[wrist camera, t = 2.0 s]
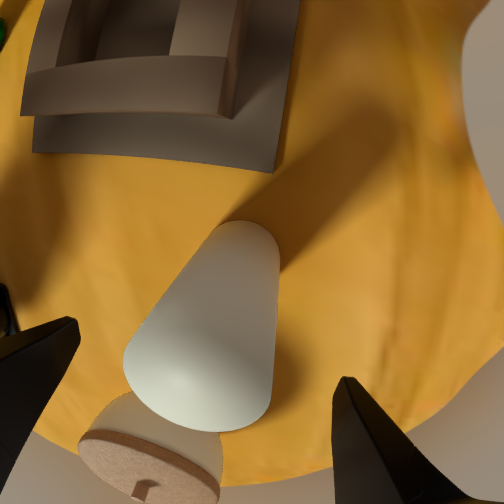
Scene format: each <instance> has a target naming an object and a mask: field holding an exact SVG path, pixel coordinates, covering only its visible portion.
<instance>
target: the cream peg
mask: <svg viewBox="0 0 504 504" xmlns="http://www.w3.org/2000/svg"><path fill="white" fill-rule="evenodd" d="M279 275H280V251H279V248H278V245H277V243H276V241H275V239H274V238H273V236H272V235H271V234H270V233H269V232H268V231H267V230H266V229H264V228H263V227H262V226H260V225H258V224H256V223H253V222H250V221H244V220H235V221H229V222H226V223H224V224H221V225H220V226H218V227H217V228H215V229H214V230H213V231H212V232H211V233H210V235H209V236H208V237H207V238H206V240H205V241H204V242H203V244H202V245H201V246H200V247H199V249H198V250H197V251H196V253H195V254H194V255H193V256H192V258H191V259H190V260H189V262H188V263H187V264H186V266H185V267H184V268H183V269H182V271H181V272H180V273H179V275H178V276H177V277H176V279H175V280H174V281H173V283H172V284H171V285H170V287H169V288H168V289H167V291H166V292H165V293H164V295H163V296H162V297H161V299H160V300H159V301H158V303H157V304H156V306H155V307H154V308H153V310H152V311H151V312H150V314H149V315H148V316H147V318H146V319H145V321H144V322H143V323H142V325H141V326H140V327H139V329H138V330H137V332H136V333H135V334H134V336H133V337H132V339H131V340H130V341H129V343H128V345H127V347H126V348H125V352H124V355H123V369H124V373H125V376H126V379H127V381H128V383H129V385H130V387H131V388H132V390H133V391H134V393H135V394H136V395H137V396H138V398H139V399H140V400H141V401H142V402H143V403H144V404H145V405H146V406H148V407H149V408H150V409H151V410H153V411H154V412H155V413H157V414H158V415H160V416H162V417H163V418H165V419H167V420H169V421H171V422H173V423H175V424H178V425H181V426H183V427H187V428H190V429H195V430H200V431H208V432H225V431H232V430H236V429H240V428H243V427H246V426H248V425H250V424H252V423H254V422H255V421H256V420H258V419H259V418H260V417H261V416H262V415H263V414H264V413H265V411H266V410H267V408H268V406H269V404H270V400H271V395H272V382H273V369H274V356H275V341H276V326H277V310H278V293H279Z"/></svg>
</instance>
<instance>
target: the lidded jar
mask: <svg viewBox="0 0 504 504" xmlns="http://www.w3.org/2000/svg"><path fill="white" fill-rule="evenodd" d="M78 452H79V454H80V456H81V458H82V460H83V461H84V462H85V463H86V465H87V466H88V467H89V468H90V469H91V470H92V471H93V472H94V473H95V474H97V475H98V476H99V477H100V478H102V479H103V480H104V481H106V482H107V483H109V484H110V485H112V486H113V487H115V488H117V489H119V490H121V491H122V492H124V493H126V494H128V495H130V496H131V499H133V500H134V501H137V502H139V503H144V502H148V503H151V504H217V503H218V500H219V497H220V484H221V479H222V472H223V446H222V442H221V439H220V435H219V433H218V432H208V431H200V430H195V429H190V428H187V427H183V426H181V425H178V424H175V423H173V422H171V421H169V420H167V419H165V418H163V417H162V416H160V415H158V414H157V413H155V412H154V411H153V410H151V409H150V408H149V407H148V406H146V405H145V404H144V403H143V402H142V401H141V400H140V399H139V398H138V396H137V395H136V394H135V393H134V391H131V392H128V393H125V394H123V395H121V396H119V397H117V398H116V399H114V400H112V401H111V402H110V403H109V404H108V405H107V406H106V407H105V408H104V409H103V410H102V411H101V412H100V413H99V415H98V416H97V417H96V418H95V420H94V421H93V423H92V424H91V426H90V427H89V429H88V431H87V432H86V433H85V434H84V435H83V436H82V437H81V439H80V441H79V443H78Z"/></svg>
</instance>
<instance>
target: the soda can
mask: <svg viewBox="0 0 504 504" xmlns="http://www.w3.org/2000/svg"><path fill="white" fill-rule="evenodd" d="M5 32H6V27H5V23H4V20H3V18H2V17H0V48H1V46H2V43H3V41H4V37H5Z"/></svg>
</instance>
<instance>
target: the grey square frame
mask: <svg viewBox="0 0 504 504" xmlns="http://www.w3.org/2000/svg"><path fill="white" fill-rule="evenodd" d="M299 7H300V0H45V2H44V5H43V8H42V11H41V14H40V18H39V21H38V25H37V28H36V32H35V35H34V39H33V43H32V48H31V52H30V56H29V61H28V66H27V71H26V77H25V83H24V89H23V96H22V104H21V112H20V116H35V119H34V130H33V145H32V153H81V154H103V155H120V156H133V157H146V158H157V159H167V160H177V161H186V162H195V163H203V164H211V165H219V166H226V167H233V168H240V169H247V170H253V171H259V172H266V173H272V174H273V172H274V165H275V159H276V153H277V147H278V141H279V135H280V128H281V122H282V116H283V110H284V103H285V97H286V91H287V84H288V78H289V72H290V65H291V59H292V52H293V46H294V39H295V33H296V26H297V20H298V13H299Z"/></svg>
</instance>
